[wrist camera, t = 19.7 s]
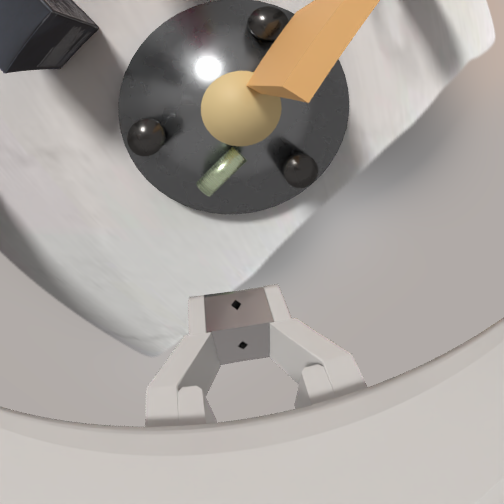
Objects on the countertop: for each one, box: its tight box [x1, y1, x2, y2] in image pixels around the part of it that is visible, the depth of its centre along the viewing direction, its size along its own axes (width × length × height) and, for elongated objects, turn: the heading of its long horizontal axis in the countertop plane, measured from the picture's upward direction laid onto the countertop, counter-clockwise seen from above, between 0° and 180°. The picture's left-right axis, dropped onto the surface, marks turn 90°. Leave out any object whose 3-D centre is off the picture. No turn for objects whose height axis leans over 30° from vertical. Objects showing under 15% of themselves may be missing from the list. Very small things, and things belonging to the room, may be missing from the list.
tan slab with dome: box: [201, 0, 380, 146], centre depth 16 cm, size 14×7×14 cm, turn 150°
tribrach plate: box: [119, 0, 349, 214], centre depth 23 cm, size 23×23×4 cm
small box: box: [0, 0, 99, 73], centre depth 10 cm, size 11×6×10 cm, turn 36°
